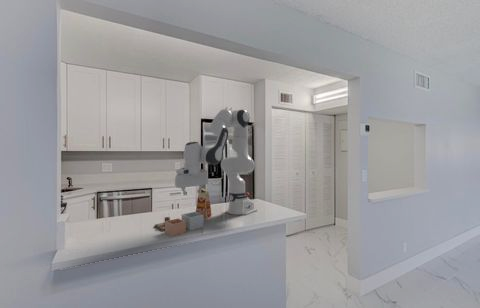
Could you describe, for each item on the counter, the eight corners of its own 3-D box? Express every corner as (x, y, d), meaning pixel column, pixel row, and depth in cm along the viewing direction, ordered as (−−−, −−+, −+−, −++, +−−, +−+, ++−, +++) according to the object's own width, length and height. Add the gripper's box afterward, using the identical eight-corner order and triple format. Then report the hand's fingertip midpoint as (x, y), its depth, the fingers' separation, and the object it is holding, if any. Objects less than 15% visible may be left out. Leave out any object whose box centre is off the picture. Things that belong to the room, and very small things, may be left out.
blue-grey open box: (195, 223, 144) (194, 211, 144) (203, 226, 137) (203, 214, 137) (181, 226, 138) (181, 214, 137) (189, 230, 131) (189, 217, 131)
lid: (171, 222, 144) (171, 214, 144) (179, 226, 137) (179, 217, 136) (155, 225, 137) (155, 217, 137) (163, 230, 130) (162, 221, 130)
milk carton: (207, 219, 150) (207, 188, 150) (193, 219, 152) (193, 188, 152) (212, 215, 159) (212, 186, 159) (199, 215, 161) (199, 185, 161)
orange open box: (178, 228, 133) (178, 218, 133) (185, 232, 128) (185, 221, 127) (164, 232, 128) (164, 221, 128) (171, 236, 122) (171, 224, 122)
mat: (171, 222, 145) (171, 221, 145) (180, 227, 137) (180, 226, 137) (153, 226, 137) (153, 225, 137) (162, 231, 129) (162, 230, 129)
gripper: (204, 168, 146) (204, 190, 146) (173, 170, 132) (173, 195, 132) (210, 169, 141) (210, 192, 142) (179, 171, 127) (179, 197, 128)
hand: (192, 193), depth 137 cm, fingers open, 8 cm apart
